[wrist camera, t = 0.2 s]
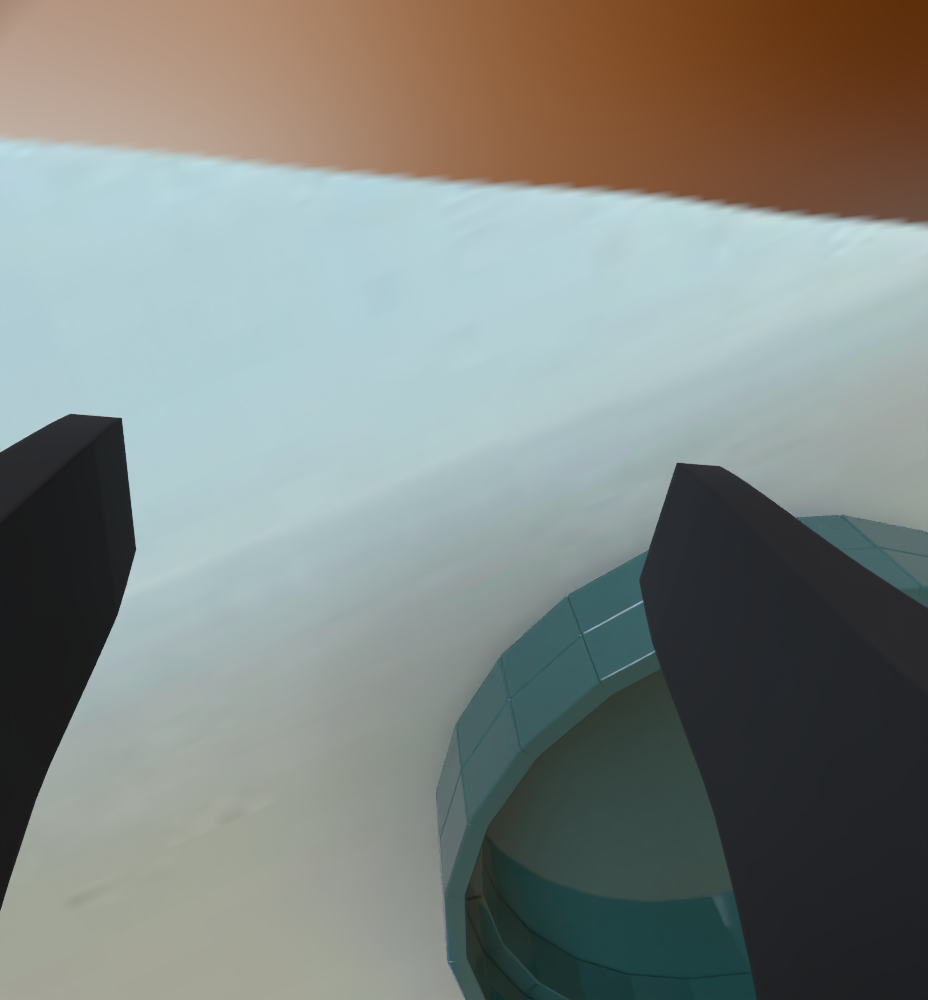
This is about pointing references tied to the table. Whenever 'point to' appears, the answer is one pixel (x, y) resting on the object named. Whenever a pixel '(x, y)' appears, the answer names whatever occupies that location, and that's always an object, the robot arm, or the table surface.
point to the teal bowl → (600, 807)
